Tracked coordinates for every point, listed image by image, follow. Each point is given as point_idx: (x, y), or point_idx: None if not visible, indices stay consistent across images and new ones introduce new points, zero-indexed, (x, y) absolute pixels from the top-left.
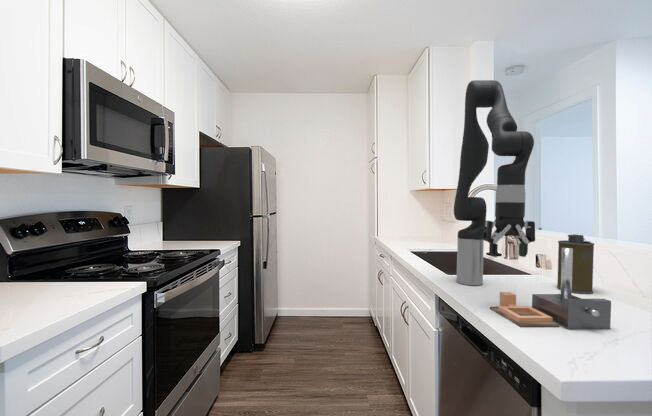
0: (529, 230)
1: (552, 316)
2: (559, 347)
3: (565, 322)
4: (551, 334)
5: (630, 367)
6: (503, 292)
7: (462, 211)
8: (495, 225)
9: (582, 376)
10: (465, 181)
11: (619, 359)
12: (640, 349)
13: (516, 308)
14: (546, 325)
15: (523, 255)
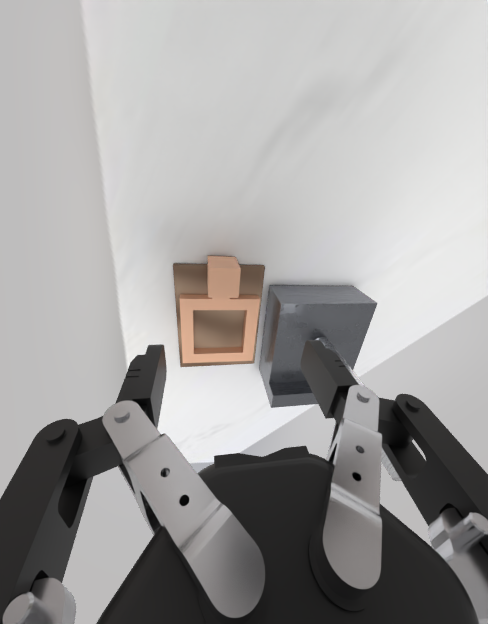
0: (429, 504)
1: (265, 344)
2: (192, 418)
3: (261, 370)
4: (214, 385)
5: (234, 446)
6: (216, 273)
7: None
8: (112, 618)
9: None
10: None
11: (240, 435)
12: (293, 414)
13: (219, 309)
14: (230, 363)
15: (302, 369)
